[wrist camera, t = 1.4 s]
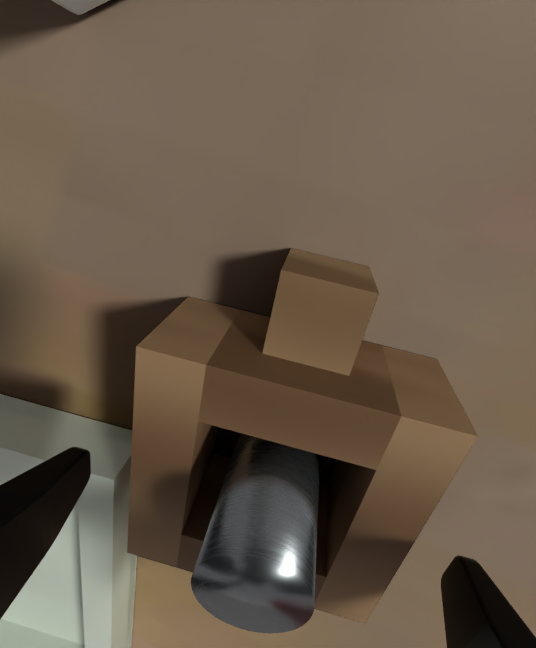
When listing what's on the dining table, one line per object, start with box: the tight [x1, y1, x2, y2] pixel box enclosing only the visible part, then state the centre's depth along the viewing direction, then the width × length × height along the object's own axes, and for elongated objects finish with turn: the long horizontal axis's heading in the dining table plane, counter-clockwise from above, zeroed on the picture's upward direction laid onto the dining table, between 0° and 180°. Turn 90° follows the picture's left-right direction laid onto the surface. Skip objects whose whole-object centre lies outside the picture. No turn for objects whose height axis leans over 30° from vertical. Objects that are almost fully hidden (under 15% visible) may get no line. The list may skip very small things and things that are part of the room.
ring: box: [127, 248, 478, 624], centre depth 10 cm, size 9×7×3 cm
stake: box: [191, 433, 320, 633], centre depth 9 cm, size 2×2×5 cm
